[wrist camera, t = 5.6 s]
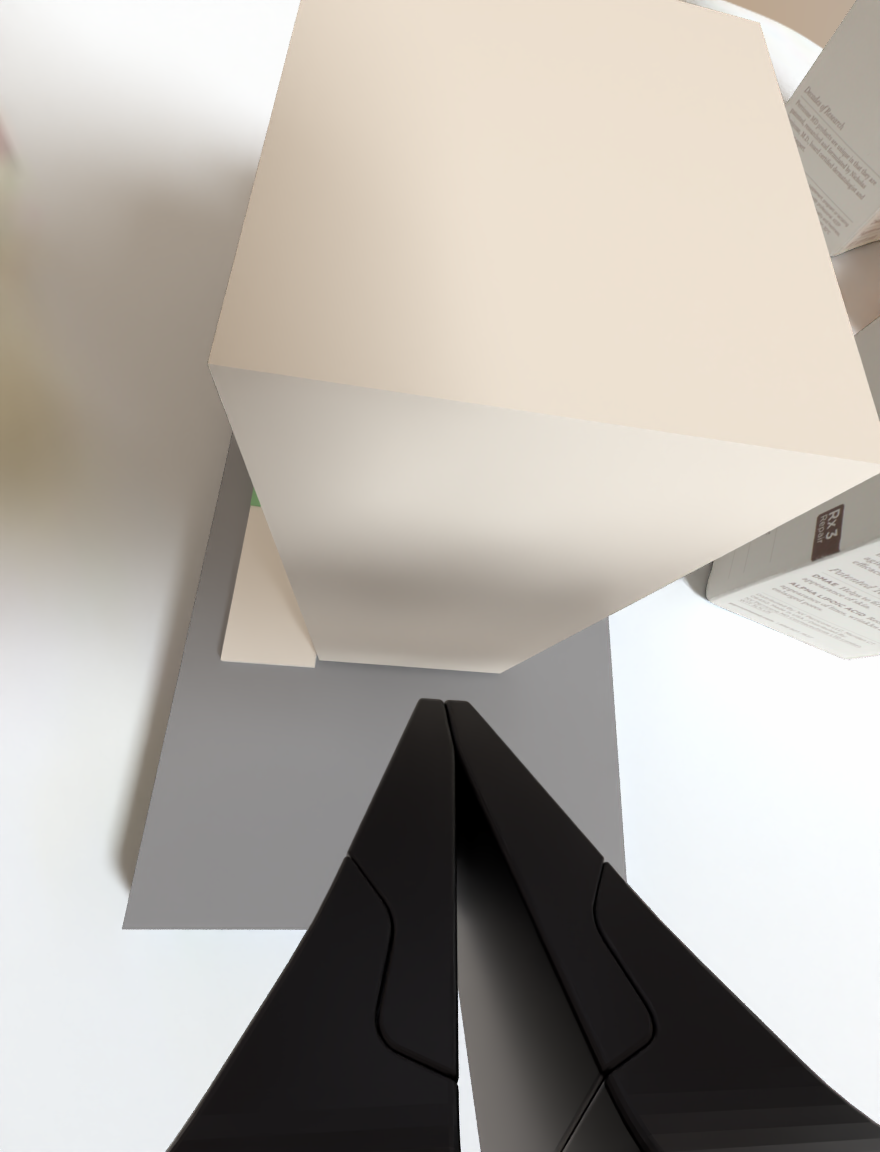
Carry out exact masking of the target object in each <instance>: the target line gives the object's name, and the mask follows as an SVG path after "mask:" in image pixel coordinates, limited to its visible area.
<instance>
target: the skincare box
mask: <svg viewBox="0 0 880 1152" xmlns="http://www.w3.org/2000/svg"><path fill="white" fill-rule="evenodd" d="M854 338H855V341H856V345H857V348H858V351H859V355H860V358H861V361H862V365H863V368H864V371H865V375H866V378H867V381H868V385H869V388H870V391H871V394H872V398H873V401H874V404H875V408H876V411H877V414H878V418H879V421H880V316H879V317H878V318H877V319H875V320H874V321H873V322H871V323H870V324H869V325H868V326H866V327H865V328H864V329H862V330H861V331H860V332H859V333H857V334H856V335H855V336H854ZM706 597H707V599H708V601H710V602H711V603H713V604H715V605H717V606H720V607H722V608H724V609H726V610H729V611H731V612H733V613H736V614H738V615H741V616H743V617H745V618H748V619H750V620H752V621H755V622H757V623H760V624H762V625H764V626H766V627H769V628H771V629H773V630H776V631H778V632H780V633H783V634H785V635H788V636H790V637H792V638H795V639H797V640H799V641H801V642H803V643H806V644H808V645H811V646H813V647H816V648H818V649H820V650H823V651H825V652H827V653H830V654H832V655H834V656H837V657H839V658H842V659H846V660H851V659H857V658H864V657H871V656H878V655H880V473H879V474H877V475H875V476H873V477H871V478H869V479H867V480H866V481H864V482H862V483H860V484H858V485H856V486H854V487H852V488H850V489H849V490H847V491H845V492H843V493H841V494H839V495H837V496H835V497H833V498H831V499H830V500H828V501H826V502H824V503H822V504H820V505H818V506H816V507H814V508H813V509H811V510H809V511H807V512H805V513H803V514H801V515H799V516H797V517H795V518H794V519H792V520H790V521H788V522H786V523H784V524H782V525H780V526H778V527H777V528H775V529H773V530H771V531H769V532H767V533H765V534H763V535H761V536H760V537H758V538H756V539H754V540H752V541H750V542H748V543H746V544H744V545H742V546H741V547H739V548H737V549H735V550H733V551H731V552H729V553H727V554H725V555H724V556H722V557H720V558H718V559H716V560H714V561H713V566H712V570H711V573H710V576H709V579H708V583H707V588H706Z"/></svg>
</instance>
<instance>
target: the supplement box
mask: <svg viewBox="0 0 880 1152" xmlns="http://www.w3.org/2000/svg"><path fill="white" fill-rule="evenodd" d="M785 108H786V112H787V115H788V118H789V122H790V125H791V128H792V132H793V135H794V138H795V142H796V145H797V148H798V152H799V155H800V158H801V162H802V165H803V168H804V172H805V175H806V178H807V181H808V185H809V188H810V191H811V195H812V198H813V201H814V205H815V208H816V211H817V215H818V218H819V221H820V225H821V228H822V231H823V235H824V238H825V241H826V245H827V248H828V251H829V255H830V257H832V256H836V255H838V254H841V253H843V252H846V251H848V250H851V249H853V248H856V247H859V246H862V245H865V244H868V243H871V242H874V241H878V240H880V0H856V1H855V3H854V4H853V6H852V7H851V9H850V11H849V12H848V13H847V15H846V16H845V18H844V20H843V21H842V23H841V24H840V26H839V27H838V28H837V30H836V32H835V33H834V34H833V36H832V37H831V39H830V40H829V42H828V43H827V45H826V46H825V48H824V49H823V50H822V52H821V53H820V55H819V56H818V58H817V59H816V61H815V62H814V64H813V65H812V67H811V68H810V70H809V71H808V73H807V74H806V76H805V77H804V79H803V80H802V82H801V83H800V85H799V86H798V88H797V89H796V90H795V92H794V93H793V95H792V96H791V98H790V99H789V101H788V102H787V104H786V105H785Z"/></svg>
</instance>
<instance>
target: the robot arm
mask: <svg viewBox="0 0 880 1152" xmlns="http://www.w3.org/2000/svg"><path fill="white" fill-rule="evenodd" d="M604 860H605V859H604V856H603V855H602V854H601V853H600V852H599V850H598V849H597V848H596V847H595V846H594V845H593V844H592V842H591V841H590V840H589V839H588V838H587V837H586V835H585V834H584V833H583V832H582V831H581V830H580V829H579V827H578V826H577V825H576V824H575V823H574V822H573V821H572V819H571V818H570V817H569V816H568V815H567V814H566V812H565V811H564V810H563V809H562V808H561V807H560V806H559V804H558V803H557V802H556V801H555V800H554V799H553V797H552V796H551V795H550V794H549V793H548V792H547V791H546V789H545V788H544V787H543V786H542V785H541V784H540V783H539V781H538V780H537V779H536V778H535V777H534V776H533V774H532V773H531V772H530V771H529V770H528V769H527V768H526V766H525V765H524V764H523V763H522V762H521V761H520V760H519V758H518V757H517V756H516V755H515V754H514V753H513V751H512V750H511V749H510V748H509V747H508V746H507V745H506V743H505V742H504V741H503V740H502V739H501V738H500V737H499V735H498V734H497V733H496V732H495V731H494V730H493V728H492V727H491V726H490V725H489V724H488V723H487V722H486V720H485V719H484V718H483V717H482V716H481V715H480V714H479V712H478V711H477V710H476V709H475V708H474V707H473V705H472V704H471V703H470V702H468V701H463V700H446V701H445V702H443V701H442V700H441V699H432V698H420V699H419V700H418V702H417V704H416V706H415V708H414V710H413V712H412V714H411V716H410V719H409V721H408V723H407V725H406V727H405V729H404V731H403V734H402V736H401V738H400V740H399V742H398V744H397V746H396V749H395V751H394V753H393V755H392V757H391V759H390V761H389V763H388V766H387V768H386V770H385V772H384V774H383V776H382V778H381V781H380V783H379V785H378V787H377V789H376V791H375V793H374V795H373V798H372V800H371V802H370V804H369V806H368V808H367V810H366V813H365V815H364V817H363V819H362V821H361V823H360V825H359V828H358V830H357V832H356V834H355V836H354V838H353V840H352V842H351V845H350V847H349V849H348V851H347V854H346V857H344V859H343V861H342V863H341V865H340V867H339V869H338V871H337V874H336V876H335V878H334V880H333V882H332V884H331V886H330V888H329V890H328V892H327V894H326V896H325V898H324V900H323V902H322V904H321V906H320V908H319V909H318V911H317V913H316V915H315V917H314V919H313V921H312V923H311V924H310V926H309V928H308V930H307V931H306V933H305V935H304V936H303V938H302V940H301V941H300V943H299V945H298V947H297V948H296V950H295V952H294V953H293V955H292V957H291V958H290V960H289V962H288V964H287V965H286V967H285V968H284V970H283V972H282V973H281V975H280V976H279V978H278V980H277V981H276V983H275V984H274V986H273V987H272V989H271V991H270V992H269V994H268V995H267V997H266V999H265V1000H264V1002H263V1003H262V1005H261V1006H260V1008H259V1010H258V1011H257V1013H256V1014H255V1016H254V1017H253V1019H252V1021H251V1022H250V1024H249V1025H248V1027H247V1029H246V1030H245V1032H244V1033H243V1035H242V1036H241V1038H240V1040H239V1041H238V1043H237V1044H236V1046H235V1048H234V1049H233V1051H232V1052H231V1054H230V1055H229V1057H228V1059H227V1060H226V1062H225V1063H224V1065H223V1067H222V1068H221V1070H220V1071H219V1073H218V1074H217V1076H216V1078H215V1079H214V1081H213V1082H212V1084H211V1086H210V1087H209V1089H208V1090H207V1092H206V1093H205V1095H204V1096H203V1098H202V1099H201V1101H200V1102H199V1104H198V1105H197V1107H196V1108H195V1110H194V1111H193V1113H192V1114H191V1116H190V1117H189V1119H188V1120H187V1122H186V1123H185V1125H184V1126H183V1128H182V1129H181V1130H180V1132H179V1133H178V1135H177V1136H176V1138H175V1139H174V1141H173V1142H172V1143H171V1145H170V1146H169V1148H168V1149H167V1150H166V1152H461V1147H460V1128H459V1090H458V1085H457V1082H458V1078H459V1063H458V991H459V998H460V1005H461V1013H462V1020H463V1027H464V1034H465V1041H466V1048H467V1056H468V1063H469V1070H470V1077H471V1084H472V1092H473V1099H474V1106H475V1113H476V1120H477V1127H478V1135H479V1142H480V1149H481V1152H880V1125H879V1124H877V1123H876V1122H874V1121H873V1120H872V1119H870V1118H869V1117H868V1116H866V1115H865V1114H864V1113H862V1112H861V1111H860V1110H858V1109H857V1108H855V1107H854V1106H853V1105H851V1104H850V1103H849V1102H848V1101H847V1100H845V1099H844V1098H843V1097H842V1096H841V1095H839V1094H838V1093H837V1092H836V1091H835V1090H833V1089H832V1088H831V1087H830V1086H829V1085H828V1084H826V1083H825V1082H824V1081H823V1080H822V1079H821V1078H820V1077H819V1076H818V1075H817V1074H816V1073H815V1072H814V1071H813V1070H811V1069H810V1068H809V1067H808V1066H807V1065H806V1064H805V1063H804V1062H803V1061H802V1060H801V1059H800V1058H799V1057H798V1056H797V1055H796V1054H795V1053H794V1052H793V1051H792V1050H791V1049H790V1048H789V1047H788V1046H787V1045H786V1044H785V1043H784V1042H783V1041H782V1040H781V1039H780V1038H779V1037H778V1036H777V1035H776V1034H775V1033H774V1032H773V1031H772V1030H771V1029H770V1028H768V1027H767V1026H766V1025H765V1024H764V1023H763V1022H762V1021H761V1020H760V1019H759V1018H758V1017H757V1016H756V1015H755V1014H754V1013H753V1012H752V1011H751V1010H750V1009H749V1008H748V1007H747V1006H746V1005H745V1004H744V1003H743V1002H742V1001H741V1000H740V999H739V998H738V997H737V996H736V995H735V994H734V993H733V992H732V991H731V990H730V989H729V988H728V987H727V986H726V985H725V984H724V983H723V982H722V981H721V980H720V979H719V978H718V977H717V976H716V975H715V974H714V973H713V972H712V971H711V970H710V969H709V968H707V967H706V966H705V965H704V964H703V963H702V962H701V961H700V960H699V959H698V958H697V957H696V956H695V955H694V953H693V952H692V951H691V950H690V949H689V948H688V947H687V946H686V945H685V944H684V943H683V942H682V941H681V940H680V939H679V938H678V937H677V936H676V935H675V934H674V933H673V932H672V931H671V930H670V929H669V928H668V927H667V926H666V925H665V924H664V923H663V922H662V921H661V920H660V919H659V918H658V917H657V915H656V914H655V913H654V912H653V911H652V910H651V909H650V908H649V907H648V906H647V904H646V903H645V902H644V901H643V900H642V899H641V898H640V897H639V896H638V895H637V893H636V892H635V891H634V890H633V889H632V888H631V887H630V886H629V885H628V883H627V882H626V881H625V880H624V879H623V878H622V877H621V875H620V874H619V873H618V872H617V871H616V870H615V869H614V867H613V866H612V865H611V864H610V863H609V862H604Z"/></svg>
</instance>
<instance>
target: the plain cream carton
mask: <svg viewBox="0 0 880 1152" xmlns="http://www.w3.org/2000/svg"><path fill="white" fill-rule="evenodd" d="M207 364H208V367H209V370H210V372H211V375H212V377H213V380H214V383H215V385H216V388H217V391H218V393H219V396H220V399H221V401H222V404H223V407H224V409H225V412H226V415H227V417H228V420H229V423H230V425H231V428H232V431H233V433H234V436H235V438H236V441H237V444H238V446H239V449H240V452H241V454H242V457H243V460H244V462H245V465H246V468H247V470H248V473H249V476H250V478H251V481H252V484H253V486H254V489H255V491H256V494H257V497H258V499H259V502H260V505H261V507H262V510H263V513H264V515H265V518H266V521H267V523H268V526H269V529H270V531H271V534H272V537H273V539H274V542H275V544H276V547H277V550H278V552H279V555H280V558H281V560H282V563H283V566H284V568H285V571H286V574H287V576H288V579H289V582H290V584H291V587H292V590H293V592H294V595H295V598H296V600H297V603H298V605H299V608H300V611H301V613H302V616H303V619H304V621H305V624H306V627H307V629H308V632H309V635H310V637H311V640H312V643H313V645H314V648H315V651H316V653H317V656H318V658H319V660H323V661H336V662H350V663H363V664H377V665H390V666H404V667H417V668H431V669H444V670H458V671H472V672H485V673H499V674H500V673H502V672H504V671H506V670H508V669H509V668H511V667H513V666H515V665H517V664H519V663H521V662H523V661H525V660H527V659H528V658H530V657H532V656H534V655H536V654H538V653H540V652H542V651H544V650H545V649H547V648H549V647H551V646H553V645H555V644H557V643H559V642H561V641H563V640H564V639H566V638H568V637H570V636H572V635H574V634H576V633H578V632H580V631H581V630H583V629H585V628H587V627H589V626H591V625H593V624H595V623H597V622H599V621H600V620H602V619H604V618H606V617H608V616H610V615H612V614H614V613H616V612H617V611H619V610H621V609H623V608H625V607H627V606H629V605H631V604H633V603H634V602H636V601H638V600H640V599H642V598H644V597H646V596H648V595H650V594H652V593H653V592H655V591H657V590H659V589H661V588H663V587H665V586H667V585H669V584H670V583H672V582H674V581H676V580H678V579H680V578H682V577H684V576H686V575H688V574H689V573H691V572H693V571H695V570H697V569H699V568H701V567H703V566H705V565H706V564H708V563H710V562H712V561H714V560H716V559H718V558H720V557H722V556H724V555H725V554H727V553H729V552H731V551H733V550H735V549H737V548H739V547H741V546H742V545H744V544H746V543H748V542H750V541H752V540H754V539H756V538H758V537H760V536H761V535H763V534H765V533H767V532H769V531H771V530H773V529H775V528H777V527H778V526H780V525H782V524H784V523H786V522H788V521H790V520H792V519H794V518H795V517H797V516H799V515H801V514H803V513H805V512H807V511H809V510H811V509H813V508H814V507H816V506H818V505H820V504H822V503H824V502H826V501H828V500H830V499H831V498H833V497H835V496H837V495H839V494H841V493H843V492H845V491H847V490H849V489H850V488H852V487H854V486H856V485H858V484H860V483H862V482H864V481H866V480H867V479H869V478H871V477H873V476H875V475H877V474H879V473H880V421H879V418H878V414H877V411H876V408H875V404H874V401H873V398H872V394H871V391H870V388H869V385H868V381H867V378H866V375H865V371H864V368H863V365H862V361H861V358H860V355H859V351H858V348H857V345H856V341H855V338H854V335H853V331H852V328H851V325H850V321H849V318H848V315H847V311H846V308H845V305H844V301H843V298H842V295H841V291H840V288H839V285H838V281H837V278H836V275H835V271H834V268H833V265H832V261H831V258H830V255H829V251H828V248H827V245H826V241H825V238H824V235H823V231H822V228H821V225H820V221H819V218H818V215H817V211H816V208H815V205H814V201H813V198H812V195H811V191H810V188H809V185H808V181H807V178H806V175H805V172H804V168H803V165H802V162H801V158H800V155H799V152H798V148H797V145H796V142H795V138H794V135H793V132H792V128H791V125H790V122H789V118H788V115H787V112H786V108H785V105H784V102H783V98H782V95H781V92H780V88H779V85H778V82H777V78H776V75H775V72H774V68H773V65H772V62H771V58H770V55H769V52H768V48H767V45H766V42H765V38H764V35H763V32H762V28H761V25H760V23H758V22H755V21H751V20H748V19H744V18H740V17H737V16H733V15H730V14H726V13H723V12H719V11H715V10H712V9H708V8H705V7H701V6H697V5H694V4H690V3H687V2H683V1H679V0H301V1H300V5H299V9H298V13H297V17H296V21H295V24H294V28H293V32H292V36H291V40H290V44H289V48H288V52H287V56H286V59H285V63H284V67H283V71H282V75H281V79H280V83H279V87H278V91H277V94H276V98H275V102H274V106H273V110H272V114H271V118H270V122H269V126H268V130H267V133H266V137H265V141H264V145H263V149H262V153H261V157H260V161H259V165H258V168H257V172H256V176H255V180H254V184H253V188H252V192H251V196H250V200H249V203H248V207H247V211H246V215H245V219H244V223H243V227H242V231H241V235H240V238H239V242H238V246H237V250H236V254H235V258H234V262H233V266H232V270H231V274H230V277H229V281H228V285H227V289H226V293H225V297H224V301H223V305H222V309H221V312H220V316H219V320H218V324H217V328H216V332H215V336H214V340H213V344H212V347H211V351H210V355H209V359H208V363H207Z"/></svg>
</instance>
